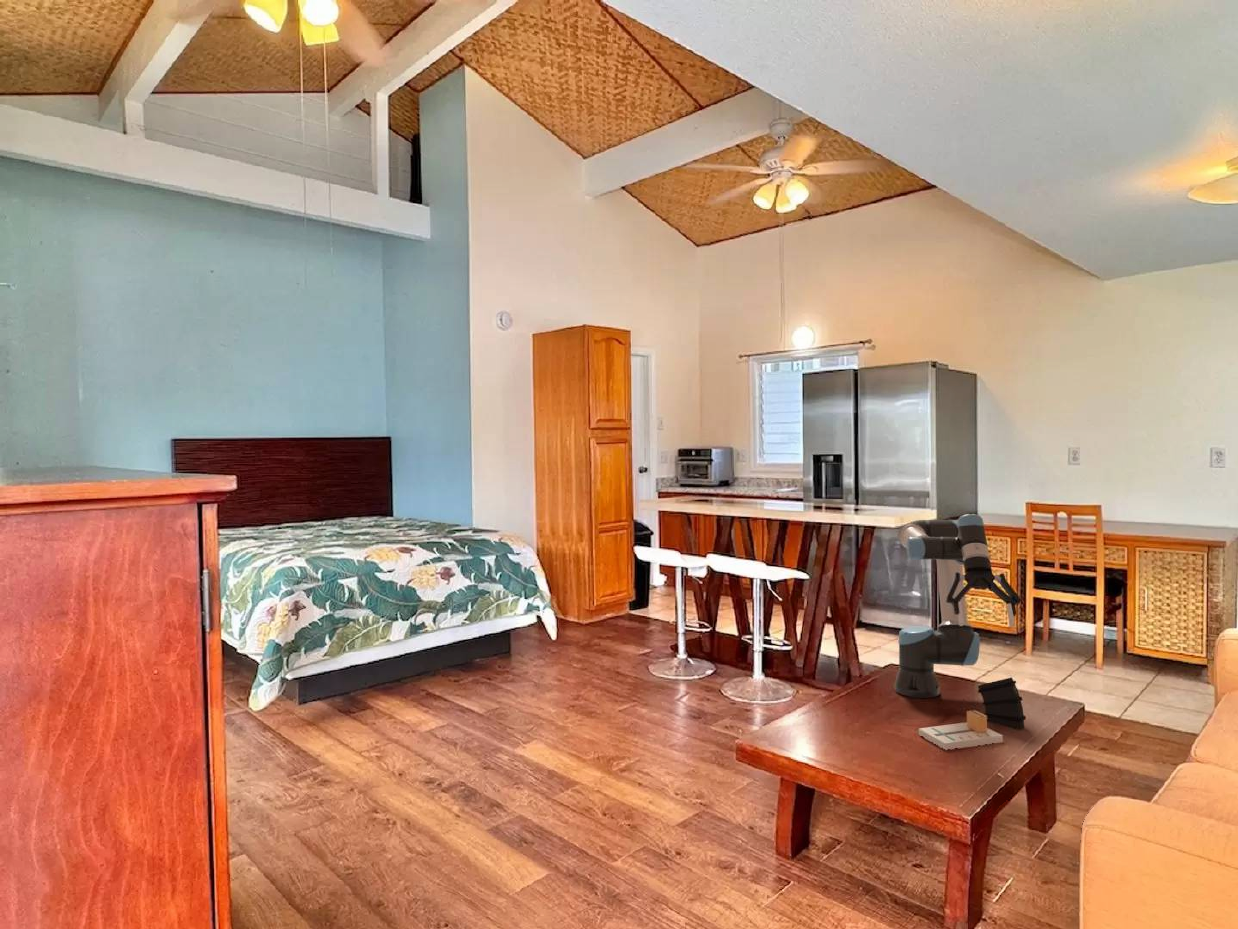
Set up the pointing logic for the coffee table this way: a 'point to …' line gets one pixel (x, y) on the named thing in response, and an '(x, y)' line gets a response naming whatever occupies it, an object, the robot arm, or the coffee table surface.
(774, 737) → the coffee table surface
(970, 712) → the fader tab
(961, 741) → the fader console
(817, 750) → the coffee table surface
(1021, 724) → the magazine
